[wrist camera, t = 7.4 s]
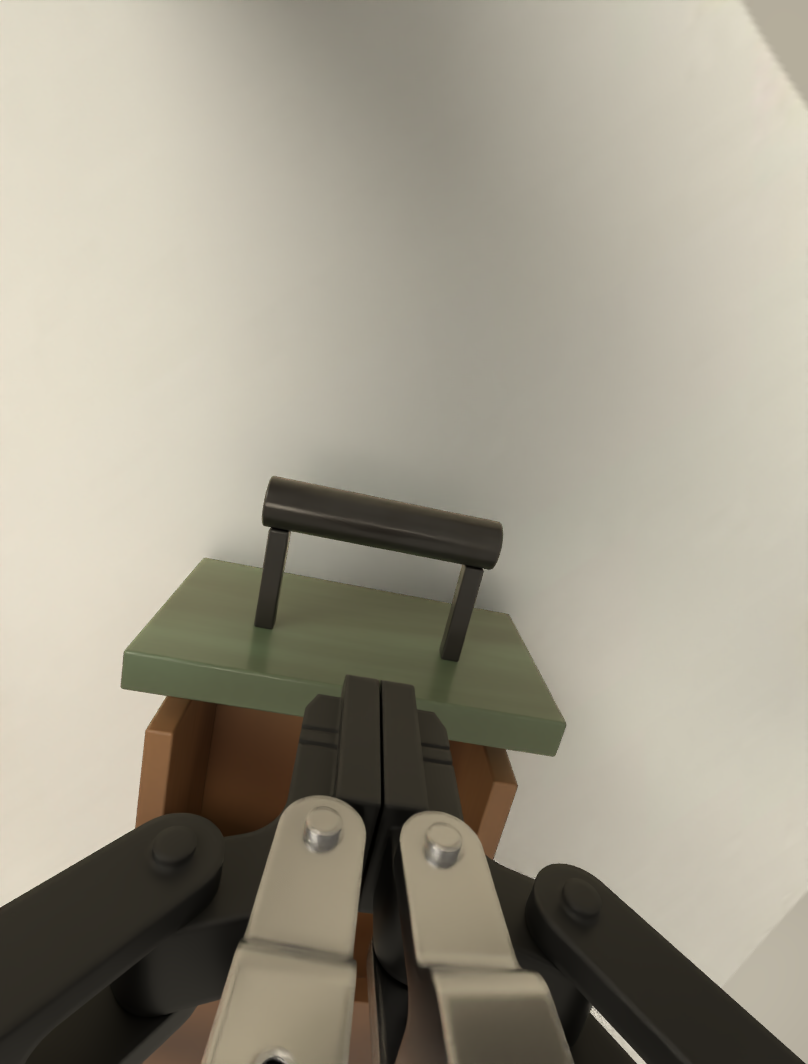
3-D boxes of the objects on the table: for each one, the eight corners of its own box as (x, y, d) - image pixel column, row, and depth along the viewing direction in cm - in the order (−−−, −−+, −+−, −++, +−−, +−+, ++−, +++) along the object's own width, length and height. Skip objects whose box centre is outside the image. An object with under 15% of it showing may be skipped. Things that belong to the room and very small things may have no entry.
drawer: (219, 435, 20) (137, 475, 13) (542, 503, 22) (622, 572, 15) (166, 848, 26) (89, 1030, 19) (428, 881, 27) (447, 1063, 20)
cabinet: (168, 762, 25) (61, 972, 17) (457, 803, 27) (497, 1016, 18) (139, 1003, 30) (42, 1269, 21) (389, 1027, 31) (395, 1284, 23)
